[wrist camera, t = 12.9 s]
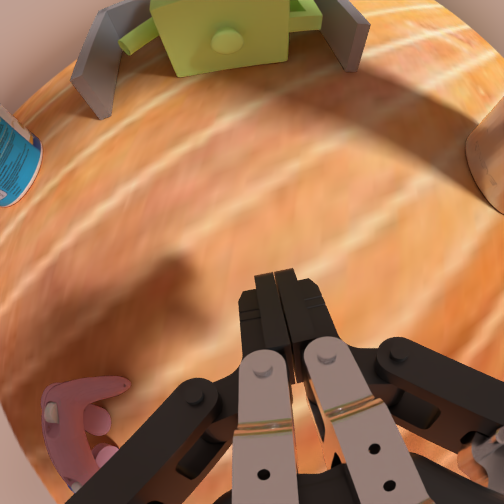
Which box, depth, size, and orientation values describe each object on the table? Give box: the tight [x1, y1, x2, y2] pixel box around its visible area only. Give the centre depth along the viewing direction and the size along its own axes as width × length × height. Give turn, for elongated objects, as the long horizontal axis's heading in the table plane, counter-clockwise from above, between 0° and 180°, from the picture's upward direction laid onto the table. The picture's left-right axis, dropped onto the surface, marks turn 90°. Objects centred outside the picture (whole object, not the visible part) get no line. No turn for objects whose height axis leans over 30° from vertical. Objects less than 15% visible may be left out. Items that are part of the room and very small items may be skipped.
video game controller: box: [41, 376, 131, 493], centre depth 14 cm, size 10×5×7 cm, turn 11°
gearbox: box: [118, 0, 323, 77], centre depth 19 cm, size 18×10×10 cm, turn 97°
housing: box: [70, 0, 371, 120], centre depth 20 cm, size 24×14×7 cm, turn 100°
